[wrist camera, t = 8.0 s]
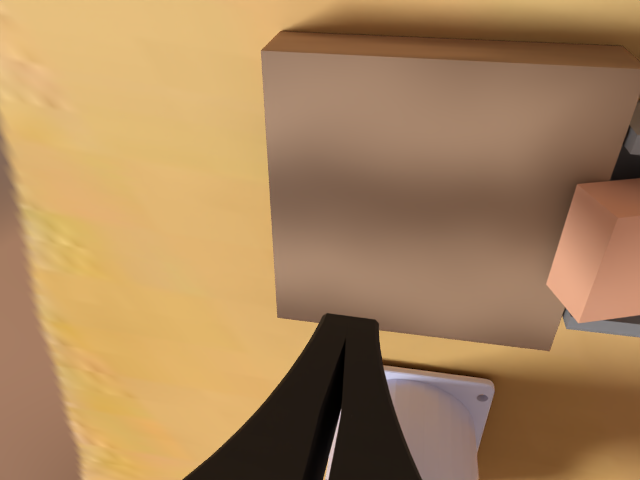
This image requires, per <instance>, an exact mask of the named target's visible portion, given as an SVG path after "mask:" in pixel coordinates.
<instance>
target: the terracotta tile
mask: <svg viewBox="0 0 640 480" xmlns="http://www.w3.org/2000/svg"><path fill="white" fill-rule="evenodd" d="M546 285H547V286H548V287H549V288H550V290H551V291H552V292H553V293H554V294H555V296H556V297H557V298H558V299H559V300H560V302H561V303H562V304H563V305H564V306H565V308H566V309H567V310H568V311H569V312H570V314H571V315H572V316H573V317H574V319H575V320H576V321H577V322H578V323H585V322H592V321H600V320H607V319H615V318H622V317H629V316H637V315H640V178H636V179H625V180H615V181H604V182H594V183H583V184H577V186H576V189H575V193H574V196H573V199H572V202H571V206H570V209H569V212H568V215H567V218H566V222H565V225H564V228H563V231H562V235H561V238H560V241H559V244H558V248H557V251H556V254H555V257H554V260H553V264H552V267H551V270H550V273H549V277H548V280H547V283H546Z"/></svg>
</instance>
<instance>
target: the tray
mask: <svg viewBox="0 0 640 480" xmlns="http://www.w3.org/2000/svg"><path fill="white" fill-rule="evenodd" d="M636 178H640V101H638V102H637V105H636V108H635V110H634V113H633V116H632V119H631V122H630V125H629V127H628V130H627V133H626V136H625V139H624V142H623V144H622V147H621V150H620V153H619V156H618V159H617V161H616V164H615V167H614V170H613V173H612V176H611V178H610V181H615V180H625V179H636ZM562 316H563V319H564V322H565V326H566V329H572V330H581V331H589V332H598V333H606V334H615V335H624V336H632V337H640V315H637V316H629V317H622V318H615V319H607V320H600V321H592V322H585V323H578V322H577V321H576V320H575V319H574V317H573V316H572V315H571V314H570V312H569V311H568V310H567V309H566V308H565V309H564V312H563V315H562Z"/></svg>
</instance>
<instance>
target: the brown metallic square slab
mask: <svg viewBox="0 0 640 480" xmlns="http://www.w3.org/2000/svg"><path fill="white" fill-rule="evenodd" d="M261 58H262V74H263V90H264V107H265V123H266V139H267V155H268V171H269V188H270V204H271V220H272V236H273V252H274V268H275V285H276V301H277V317H278V318H284V319H292V320H300V321H308V322H316V323H319V322H320V320H321V318H322V316H323V315H325V314H326V313H331V314H338V315H346V316H353V317H361V318H368V319H375V320H376V321H377V322H378V323H379V330H382V331H390V332H398V333H406V334H414V335H422V336H431V337H439V338H447V339H455V340H463V341H471V342H479V343H488V344H496V345H504V346H512V347H520V348H528V349H537V350H545V351H550V349H551V346H552V343H553V340H554V337H555V334H556V332H557V329H558V326H559V323H560V320H561V317H562V315H563V312H564V309H565V306H564V305H563V304H562V303H561V302H560V300H559V299H558V298H557V297H556V296H555V294H554V293H553V292H552V291H551V290H550V288H549V287H548V286H547V285H546V283H547V280H548V277H549V273H550V270H551V267H552V264H553V260H554V257H555V254H556V251H557V248H558V244H559V241H560V238H561V235H562V231H563V228H564V225H565V222H566V218H567V215H568V212H569V209H570V206H571V202H572V199H573V196H574V193H575V189H576V186H577V184H583V183H594V182H604V181H610V178H611V176H612V173H613V170H614V167H615V164H616V161H617V159H618V156H619V153H620V150H621V147H622V144H623V142H624V139H625V136H626V133H627V130H628V127H629V125H630V122H631V119H632V116H633V113H634V110H635V108H636V105H637V102H638V99H639V96H640V61H639V60H638V59H636V58H635V57H634V56H633V55H632V54H631V53H630V52H629V51H627V50H626V49H625V48H624V47H623V46H612V45H589V44H566V43H542V42H519V41H496V40H472V39H449V38H426V37H403V36H379V35H356V34H333V33H309V32H286V31H280V32H279V33H278V34H277V35H276V36H275V37H274V38H273V39H272V40H271V41H270V42H269V43H268V44H267V45H266V46H265V47H264V48H263V49H262V50H261Z"/></svg>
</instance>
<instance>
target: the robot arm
mask: <svg viewBox="0 0 640 480" xmlns="http://www.w3.org/2000/svg"><path fill="white" fill-rule="evenodd" d="M494 392H495V389H494V384H493V382H492V381H490V380H488V379H484V378H476V377H469V376H461V375H454V374H446V373H439V372H431V371H423V370H416V369H408V368H401V367H393V366H385V365H383V362H382V356H381V350H380V342H379V323H378V322H377V321H376V320H375V319H368V318H361V317H353V316H346V315H338V314H331V313H326V314H325V315H323V316H322V318H321V320H320V322H319V324H318V326H317V328H316V330H315V332H314V334H313V335H312V337H311V339H310V340H309V342H308V344H307V345H306V347H305V348H304V350H303V352H302V353H301V354H300V356H299V357H298V359H297V360H296V362H295V363H294V364H293V366H292V367H291V369H290V370H289V372H288V373H287V374H286V376H285V377H284V378H283V380H282V381H281V382H280V383H279V385H278V386H277V387H276V388H275V390H274V391H273V392H272V393H271V395H270V396H269V397H268V398H267V399H266V401H265V402H264V403H263V404H262V405H261V406H260V408H259V409H258V410H257V411H256V412H255V413H254V414H253V415H252V416H251V417H250V419H249V420H248V421H247V422H246V423H245V424H244V425H243V426H242V427H241V428H240V429H239V430H238V431H237V432H236V433H235V434H234V435H233V436H232V437H231V438H230V439H229V440H228V441H227V442H226V443H225V444H223V445H222V446H221V447H220V448H219V449H218V450H217V451H216V452H215V453H214V454H213V455H211V456H210V457H209V458H208V459H207V460H206V461H204V462H203V463H202V464H201V465H200V466H198V467H197V468H196V469H195V470H194V471H192V472H191V473H190V474H189V475H188V476H186V477H185V478H184V479H183V480H323V477H324V473H325V470H326V466H327V462H328V466H327V472H326V478H325V480H479V474H478V461H477V452H478V448H479V445H480V441H481V438H482V434H483V431H484V427H485V424H486V420H487V417H488V413H489V410H490V406H491V403H492V399H493V396H494ZM328 458H329V461H328Z"/></svg>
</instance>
